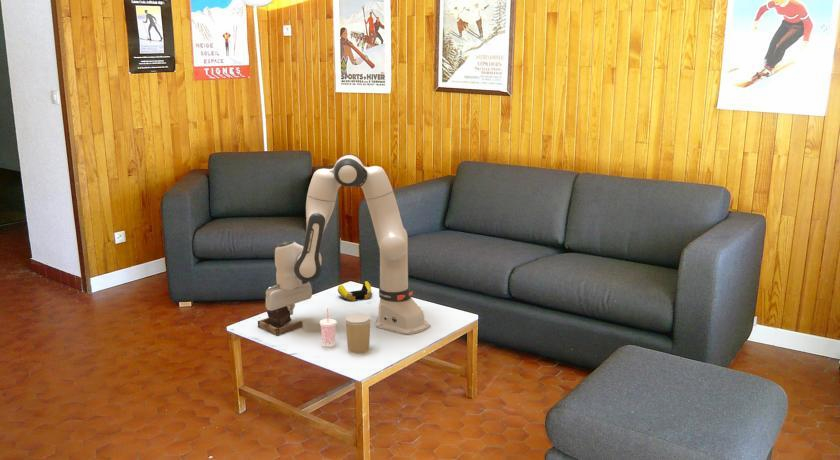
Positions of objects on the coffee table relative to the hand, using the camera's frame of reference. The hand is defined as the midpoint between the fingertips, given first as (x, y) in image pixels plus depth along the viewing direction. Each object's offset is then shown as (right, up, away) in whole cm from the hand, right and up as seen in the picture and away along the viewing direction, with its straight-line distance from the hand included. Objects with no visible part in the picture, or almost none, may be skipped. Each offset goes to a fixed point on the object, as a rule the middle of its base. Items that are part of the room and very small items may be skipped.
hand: (290, 314), depth 291 cm
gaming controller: (+24, +4, +32) cm, 40 cm away
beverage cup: (+18, -9, -19) cm, 28 cm away
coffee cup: (+29, -10, -23) cm, 38 cm away
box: (-4, -3, 0) cm, 5 cm away
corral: (-3, -5, -2) cm, 6 cm away
